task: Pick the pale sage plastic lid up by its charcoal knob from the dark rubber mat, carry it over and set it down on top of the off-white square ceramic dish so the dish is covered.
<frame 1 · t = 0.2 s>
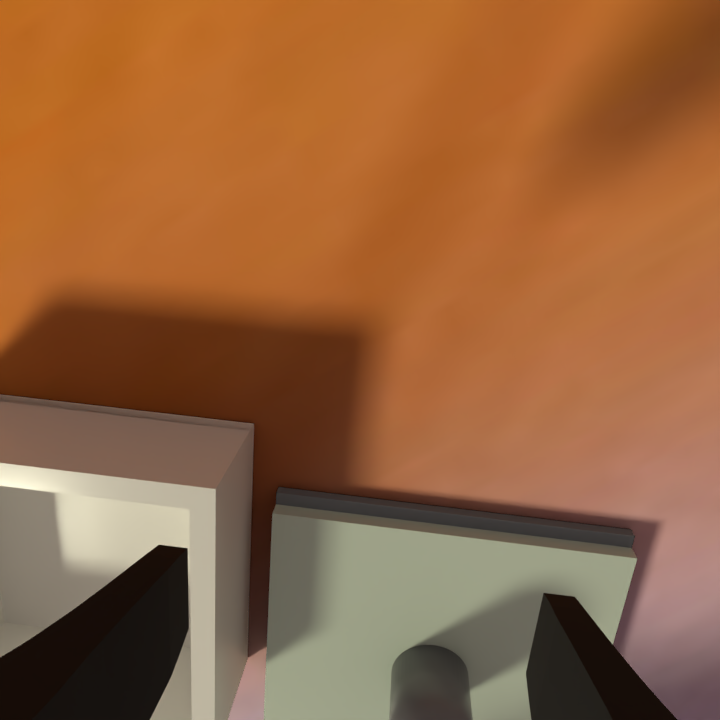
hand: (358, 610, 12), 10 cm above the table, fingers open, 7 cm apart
lid: (429, 662, 24), resting on mat
dish: (114, 532, 24), on the table
mat: (429, 655, 25), on the table
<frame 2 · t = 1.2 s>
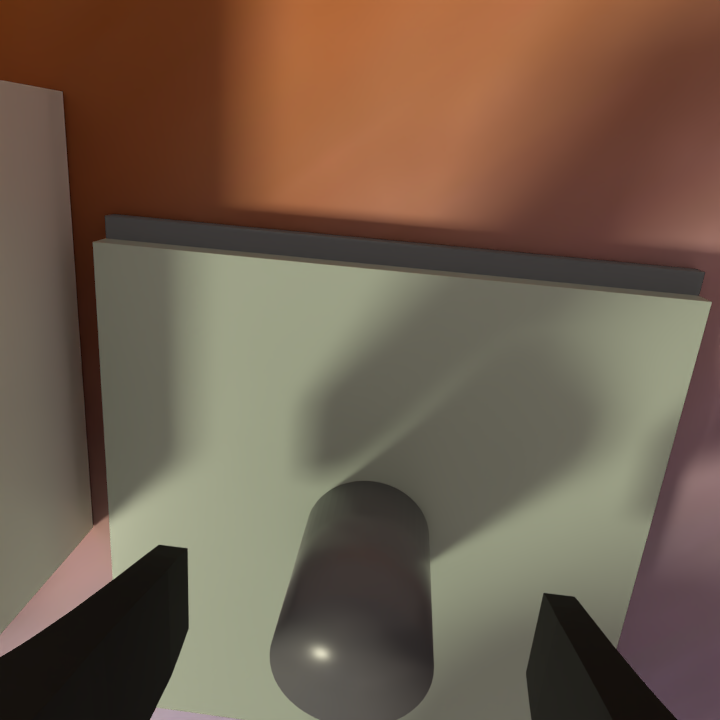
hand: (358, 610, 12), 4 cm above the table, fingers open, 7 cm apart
lid: (368, 521, 15), resting on mat
mat: (370, 512, 16), on the table
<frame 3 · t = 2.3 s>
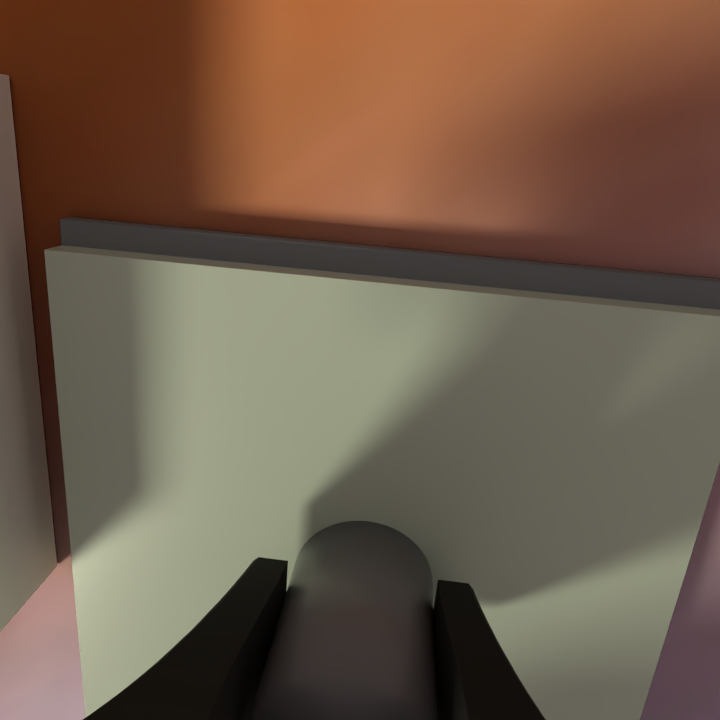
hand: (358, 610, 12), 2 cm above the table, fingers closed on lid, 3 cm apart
lid: (364, 563, 14), resting on mat, touching gripper
mat: (365, 552, 14), on the table
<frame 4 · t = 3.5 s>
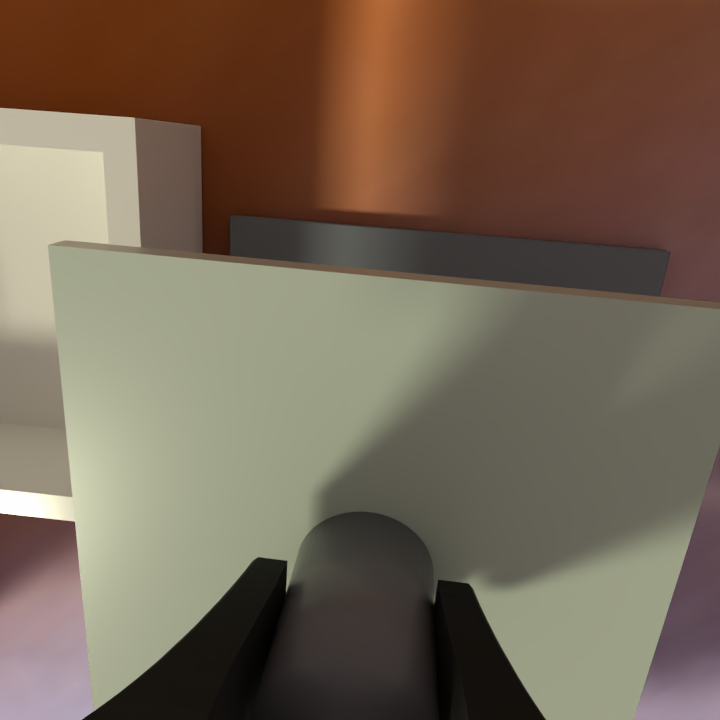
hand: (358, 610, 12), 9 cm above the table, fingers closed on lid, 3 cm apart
lid: (366, 553, 14), point 7 cm above the table, touching gripper
dish: (40, 291, 20), on the table
mat: (420, 440, 21), on the table
when the fingers open (7 cm above the table, at t = 5.2 s): lid stays where it is, resting on dish.
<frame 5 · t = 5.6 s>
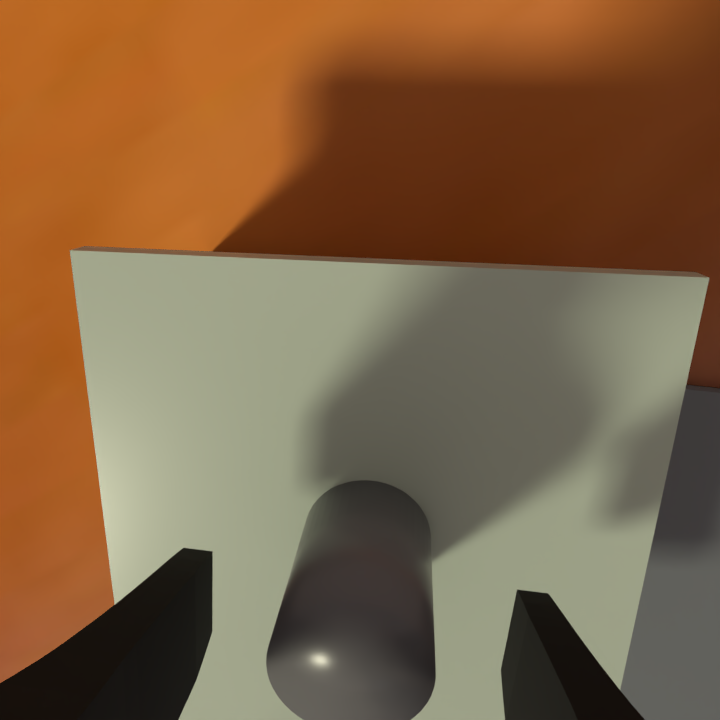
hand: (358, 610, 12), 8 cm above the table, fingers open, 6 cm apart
lid: (369, 521, 15), point 4 cm above the table, touching dish
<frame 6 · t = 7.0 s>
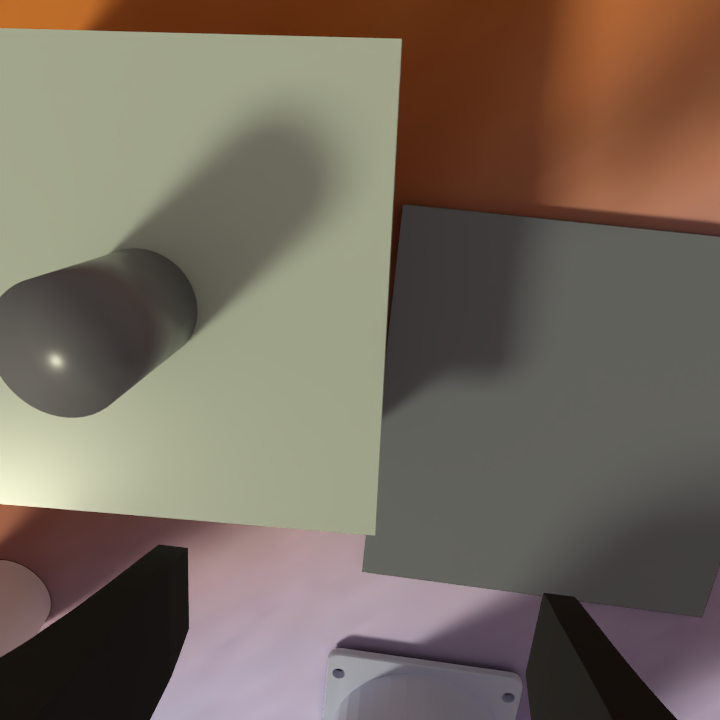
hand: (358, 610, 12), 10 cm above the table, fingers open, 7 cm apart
lid: (151, 300, 17), point 4 cm above the table, touching dish
smoothie: (12, 593, 26), on the table
mat: (563, 424, 22), on the table
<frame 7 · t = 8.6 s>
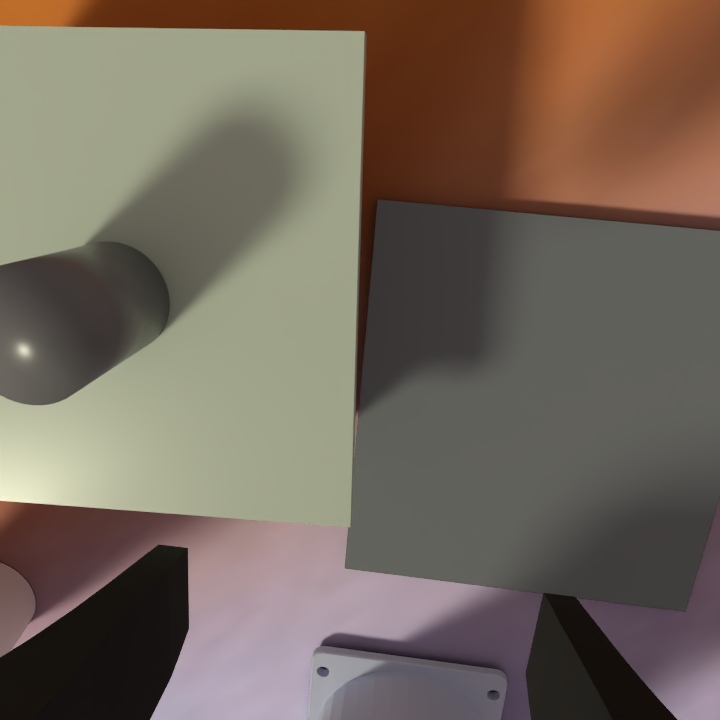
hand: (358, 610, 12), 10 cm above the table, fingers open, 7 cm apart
lid: (125, 293, 17), point 4 cm above the table, touching dish
mat: (541, 418, 22), on the table
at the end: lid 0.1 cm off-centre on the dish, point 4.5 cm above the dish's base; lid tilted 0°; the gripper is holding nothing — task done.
